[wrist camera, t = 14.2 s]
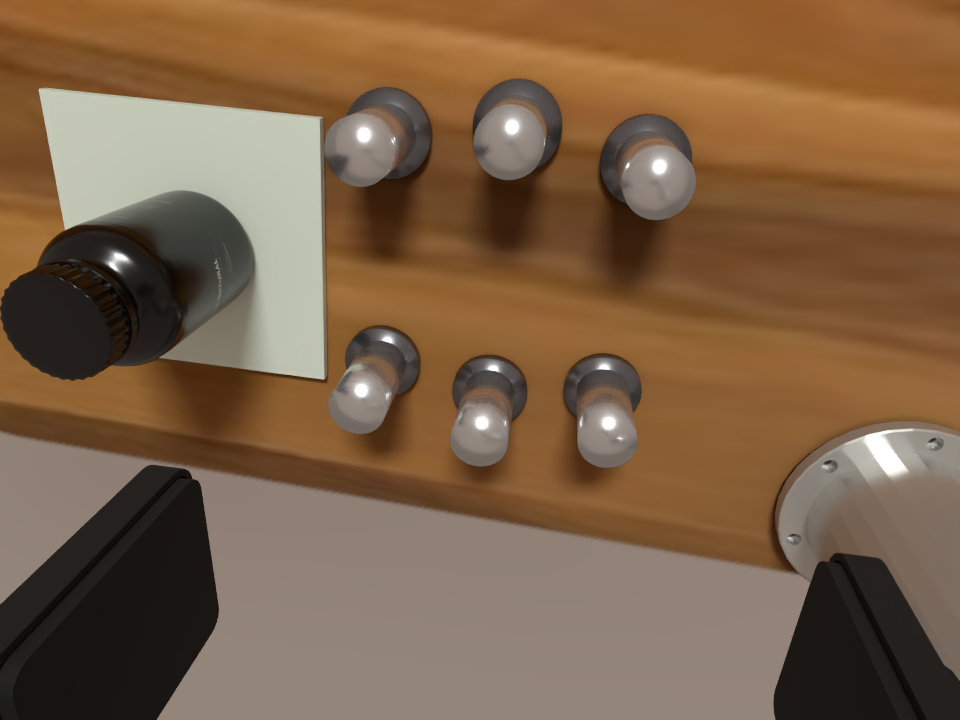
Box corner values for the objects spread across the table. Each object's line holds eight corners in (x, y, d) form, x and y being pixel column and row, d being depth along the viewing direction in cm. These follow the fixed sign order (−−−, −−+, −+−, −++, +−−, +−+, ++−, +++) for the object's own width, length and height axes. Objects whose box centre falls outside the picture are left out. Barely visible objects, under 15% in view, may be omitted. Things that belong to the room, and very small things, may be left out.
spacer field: (703, 96, 33) (730, 110, 27) (629, 438, 41) (639, 499, 36) (347, 61, 34) (306, 67, 28) (348, 400, 42) (316, 454, 37)
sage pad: (323, 117, 35) (319, 118, 35) (327, 375, 42) (324, 379, 41) (46, 87, 36) (38, 88, 36) (93, 344, 43) (87, 348, 42)
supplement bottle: (279, 281, 39) (168, 378, 28) (182, 319, 41) (43, 424, 30) (215, 166, 36) (67, 224, 26) (116, 212, 38) (-62, 285, 27)
